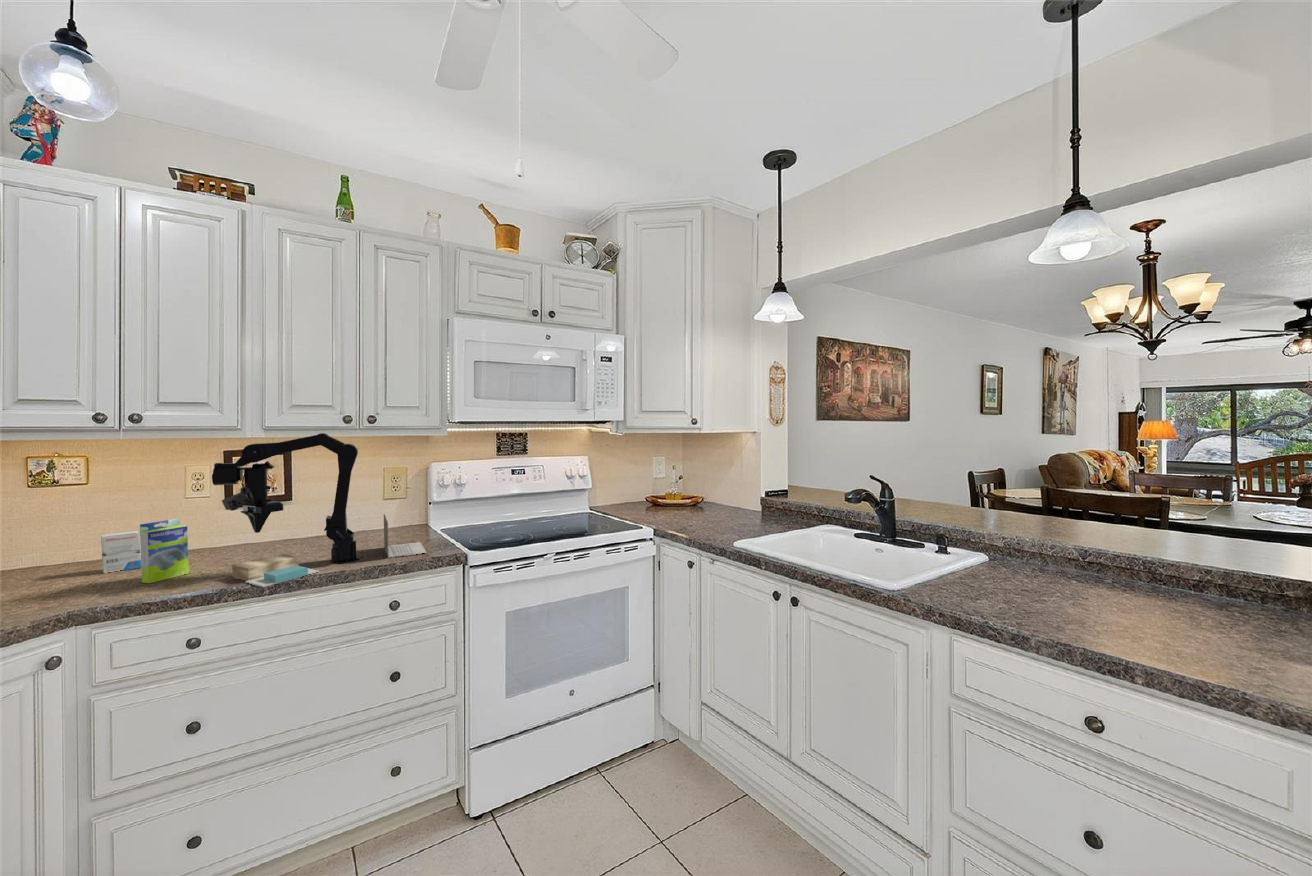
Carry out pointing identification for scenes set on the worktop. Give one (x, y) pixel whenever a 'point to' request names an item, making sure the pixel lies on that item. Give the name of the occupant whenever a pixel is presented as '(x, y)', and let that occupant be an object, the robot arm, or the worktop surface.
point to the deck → (262, 566)
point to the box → (163, 550)
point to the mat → (264, 583)
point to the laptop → (400, 546)
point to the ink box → (121, 551)
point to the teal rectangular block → (285, 573)
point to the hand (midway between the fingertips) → (257, 532)
